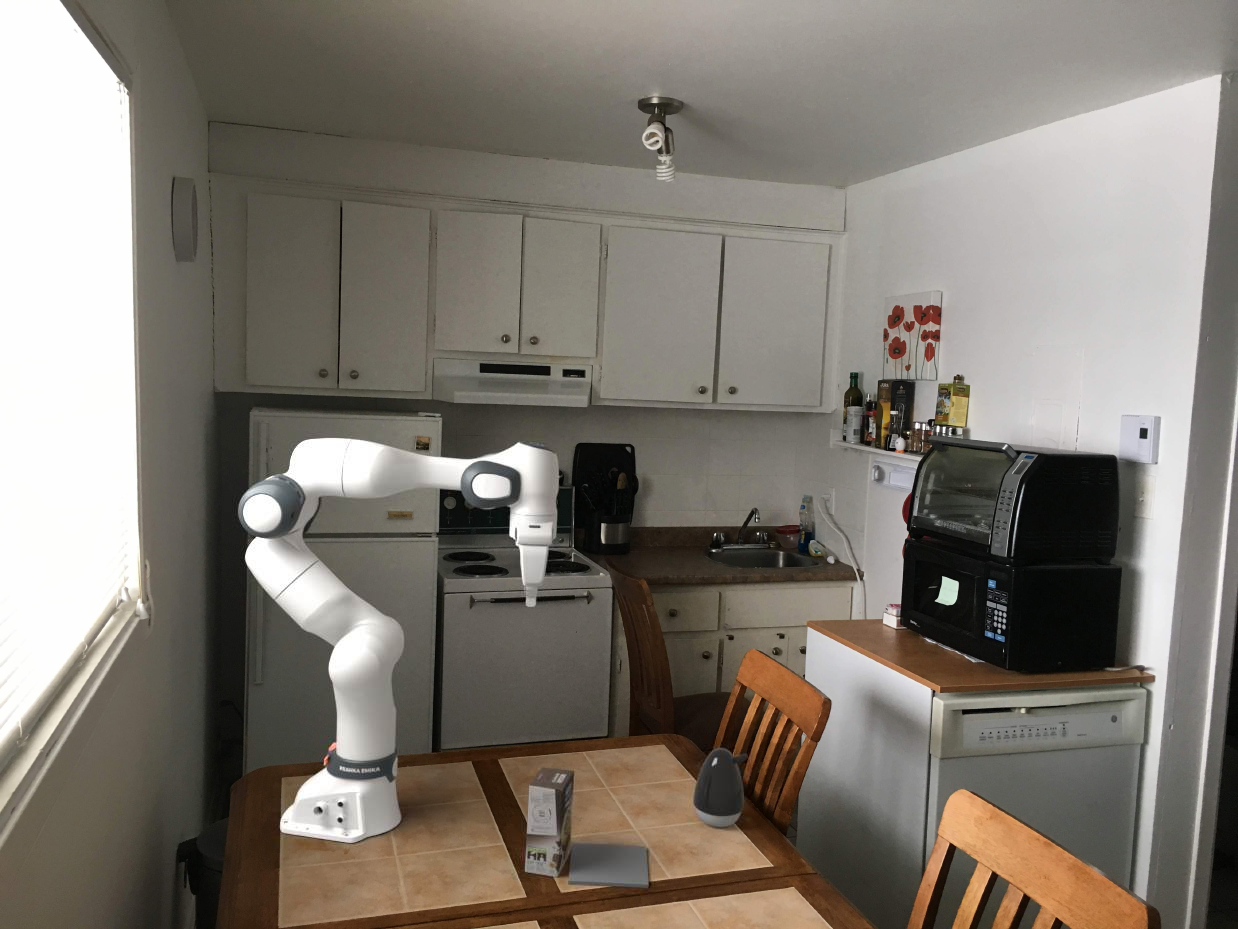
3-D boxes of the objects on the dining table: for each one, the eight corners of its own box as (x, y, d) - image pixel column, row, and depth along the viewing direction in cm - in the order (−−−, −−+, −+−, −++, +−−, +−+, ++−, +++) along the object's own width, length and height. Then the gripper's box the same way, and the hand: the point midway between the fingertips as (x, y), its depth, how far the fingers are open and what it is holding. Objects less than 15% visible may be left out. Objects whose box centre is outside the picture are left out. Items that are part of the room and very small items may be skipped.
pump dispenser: (746, 834, 189) (751, 760, 188) (694, 832, 189) (698, 757, 187) (740, 811, 199) (744, 741, 198) (690, 809, 199) (694, 738, 198)
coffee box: (558, 878, 169) (562, 789, 167) (523, 872, 170) (527, 785, 169) (571, 854, 178) (575, 769, 176) (538, 849, 179) (542, 765, 178)
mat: (568, 884, 167) (568, 880, 167) (572, 845, 181) (572, 842, 181) (648, 888, 167) (648, 884, 167) (645, 849, 181) (646, 846, 181)
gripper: (515, 519, 190) (512, 587, 191) (517, 536, 170) (514, 612, 171) (546, 520, 191) (543, 588, 192) (553, 537, 171) (549, 613, 172)
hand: (529, 600), depth 181 cm, fingers open, 8 cm apart
